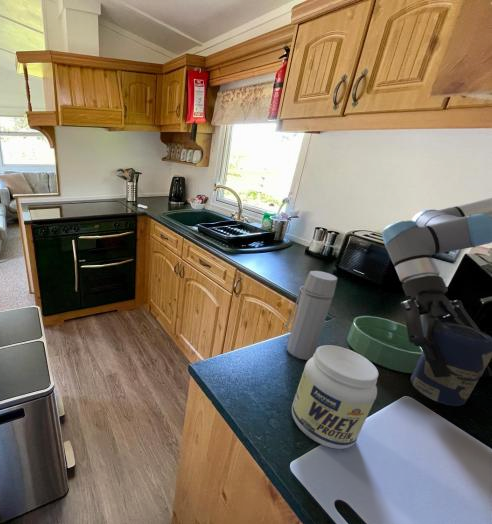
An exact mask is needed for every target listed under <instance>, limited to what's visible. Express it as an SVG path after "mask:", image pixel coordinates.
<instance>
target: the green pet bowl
mask: <svg viewBox="0 0 492 524" xmlns="http://www.w3.org/2000/svg"><path fill="white" fill-rule="evenodd" d="M415 337H417V336H415ZM346 341H347V344H348V345H349V347H351V349H352V350H353V351H354V352H356V353H358V354H360V355H361V356H363V357H365V358H366V359H367V360H369V361H370V362H371V363H374V364H376V365H379V366H381V367H383V368H387V369H388V370H389V369H390V370H393V371H396V372H400V373H406V374H413V373H414V371H415V368H416V366H417V363H418V361H419V359H420V356H421V354H422V352H423V351H422V348H421V346H418V347H417V346H415V345H414V343H411V342H410V341H409V338H408V332H407V326H406V325H404V324H403V323H400V322H397V321H394V320H391V319H387V318H382V317H378V316H371V315H361V316H357V317H354V318H353V321H352V323H351V326H350V328H349V332H348V334H347V337H346Z"/></svg>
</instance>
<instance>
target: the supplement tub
mask: <svg viewBox="0 0 492 524" xmlns="http://www.w3.org/2000/svg"><path fill="white" fill-rule="evenodd" d="M378 378H379V371H378V369H377V367H376V366H375V365H374V364H373V362H372V361H370V360H368V359H366V358H365V357H363V356H362V355H360V354H359V353H357V352H356V351H355V350H352V349H348V348H345V347H343V346H339V345H332V344H325V345H320V346H318V347H316V350H315V353H314V355H313V357H312V358H310V359H308V360H306V362H305V365H304V370H303V372H302V374H301V377H300V381H299V384H298V387H297V389H296V392H295V395H294V398H293V402H292V405H291V415H292V418H293V420H294V422H295V424H296V426H297V427H298V428H299V429H300V431H301V432H302V433H303V434H305V435H306V436H307V437H308V438H309V439H311V440H313V442H316V443H318V444H320V445H322V446H324V447H327V448H330V449H336V450H337V449H338V450H343V449H344V450H345V449H348V448H351V447H352V446H353V445H354V444H355V443H356V442H357V440H358V438H359V435H360V433H361V431H362V428H363V427H364V424H365V423H366V420H367V418H368V416H369V413H370V411H371V409H372V406H373V405H374V402H375V400H376V399H377V395H378V387H377V382H378Z"/></svg>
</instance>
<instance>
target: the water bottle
mask: <svg viewBox="0 0 492 524" xmlns="http://www.w3.org/2000/svg"><path fill="white" fill-rule="evenodd" d="M337 283H338V277H337V276H336V275H334V274H332V273H329V272H325V271H320V270H310V271H309V273H308V275H307V277H306V279H305V282H304V284H303V285H300V287H299V294H298V297H297V299H296V301H295V304H294V305H293V308H292V310H291V313H290V315H289V317H288V319H287V322H286V325H285V327H286V328H285V329H286V332H288V333H290V334H289V337H288V341H287V345H286V349H287V351H288V353H289V354H290V355H291V356H292V357H294V358H296V359H299V360H304V361H308V360H309V359H310V358H312V357H313V355H314V354H315V352H316V350H317V348H318V347H317V346H318V343H319V340H320V338H321V334H322V331H323V328H324V326H325V322H326V319H327V316H328V313H329V310H330V308H331V304H332V300H333V297H335V292H336V287H337ZM294 311H295V313H294ZM293 314H294V316H293ZM292 316H293V321H292V324H291V329H289V325H290V321H291V319H292Z"/></svg>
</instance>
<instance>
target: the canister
mask: <svg viewBox="0 0 492 524" xmlns="http://www.w3.org/2000/svg"><path fill="white" fill-rule="evenodd" d="M479 330H480V329H479ZM479 330H477V329H474V328H472V327H468V326H465V325H461V324H457V323H451V322H443V321H441V322H438V323H436V324H435V325H434V329H433V344H431V345H438V347H439V350H440V352H441V354H442V357H443V359H444V361H445V364H446V366H447V368H448V370H449V373H450V375H451V377H434V374H433V372H432V369H431V367H430V364H429V362H428V361H427V360H426V358H425V355H424V353H423V352H422V354H421V356H420V359H419V361H418V363H417V366H416V368H415V371H414V373H411V376H410V383H411V384H412V386H413V388H415V389H416V390H417V391H418V392H419V393H421V394H422V395H424V396H425V397H426V398H429V399H430V400H432V401H435V402H437V403H440V404H442V405H446V406H452V407H460V406H463V405H465V404H466V402H467V401H468V400H469V397H470V396H471V394H472V392H473V390H474V389H475V388H476V385H477V383H478V382H479V381H480V378H481V377H483V376H482V374H483V372H484V370H485V368H486V367H487V365H489V363H490V361H491V359H492V336H491V335H489V334H487V333H486V332H484V331H482V330H480V331H479Z"/></svg>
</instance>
